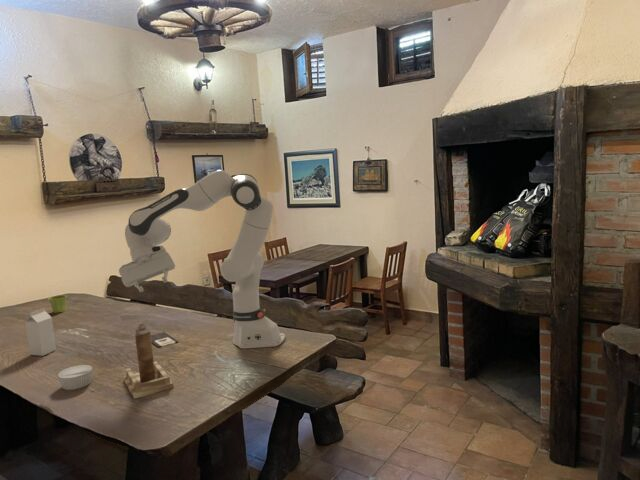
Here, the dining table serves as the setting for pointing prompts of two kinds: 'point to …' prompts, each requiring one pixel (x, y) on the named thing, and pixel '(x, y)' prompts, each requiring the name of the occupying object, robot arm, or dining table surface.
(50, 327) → the milk carton
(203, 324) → the dining table surface
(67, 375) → the ramekin
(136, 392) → the rack
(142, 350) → the pepper mill
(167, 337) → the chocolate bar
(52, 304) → the plant pot
